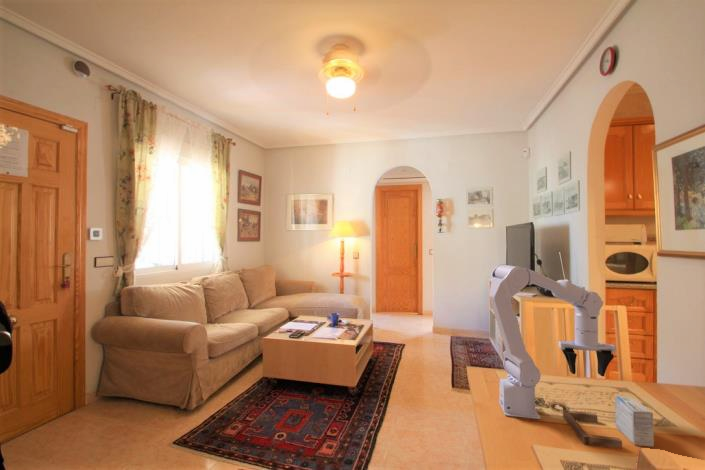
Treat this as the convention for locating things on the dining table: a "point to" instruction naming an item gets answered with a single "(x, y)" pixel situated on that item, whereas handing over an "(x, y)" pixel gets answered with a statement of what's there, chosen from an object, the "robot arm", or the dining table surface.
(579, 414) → the walnut u-shaped bracket
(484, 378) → the dining table surface
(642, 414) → the medicine box
